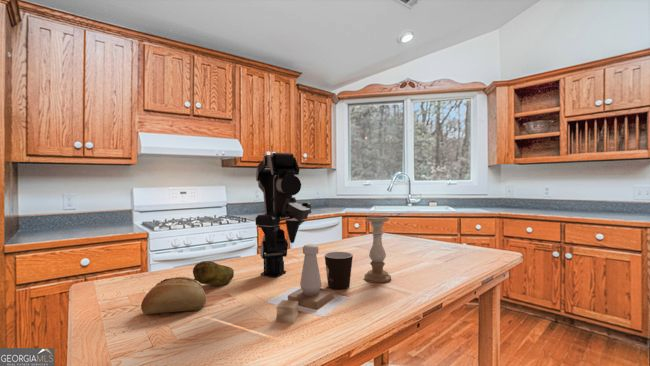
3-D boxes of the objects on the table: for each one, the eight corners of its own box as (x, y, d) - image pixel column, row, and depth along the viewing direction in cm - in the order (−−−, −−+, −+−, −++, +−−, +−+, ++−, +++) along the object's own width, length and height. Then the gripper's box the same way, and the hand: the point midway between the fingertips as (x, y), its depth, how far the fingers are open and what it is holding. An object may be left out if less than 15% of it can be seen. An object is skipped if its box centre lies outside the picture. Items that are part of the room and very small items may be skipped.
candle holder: (382, 273, 109) (382, 215, 109) (396, 281, 101) (396, 218, 100) (359, 276, 106) (359, 216, 106) (371, 284, 98) (371, 219, 98)
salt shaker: (300, 289, 87) (299, 243, 87) (320, 288, 88) (320, 242, 88) (300, 297, 81) (300, 247, 81) (322, 296, 82) (322, 246, 82)
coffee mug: (351, 293, 90) (351, 259, 90) (322, 291, 92) (321, 257, 92) (355, 280, 102) (355, 250, 102) (329, 279, 104) (329, 249, 103)
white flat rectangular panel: (265, 303, 83) (265, 302, 83) (295, 287, 95) (295, 286, 95) (324, 318, 74) (324, 316, 74) (349, 298, 87) (349, 296, 87)
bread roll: (145, 307, 82) (145, 277, 82) (206, 299, 87) (206, 271, 87) (137, 323, 73) (136, 289, 73) (206, 313, 78) (205, 281, 78)
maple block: (276, 323, 72) (276, 306, 72) (282, 316, 76) (282, 300, 76) (293, 325, 71) (293, 307, 71) (298, 317, 75) (298, 301, 75)
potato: (238, 285, 98) (238, 259, 98) (194, 293, 92) (194, 265, 92) (232, 278, 105) (231, 254, 105) (190, 284, 99) (190, 259, 99)
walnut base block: (287, 303, 83) (287, 295, 83) (306, 292, 91) (306, 285, 91) (316, 309, 78) (316, 301, 78) (333, 297, 86) (333, 290, 86)
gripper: (285, 196, 83) (286, 255, 83) (321, 193, 99) (321, 242, 99) (253, 195, 88) (254, 250, 88) (292, 192, 104) (292, 239, 105)
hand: (283, 245), depth 95 cm, fingers open, 9 cm apart
